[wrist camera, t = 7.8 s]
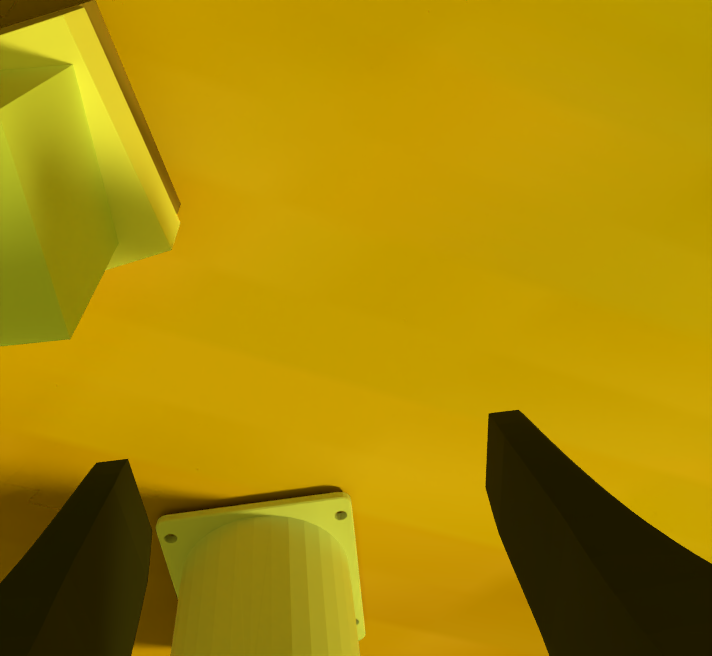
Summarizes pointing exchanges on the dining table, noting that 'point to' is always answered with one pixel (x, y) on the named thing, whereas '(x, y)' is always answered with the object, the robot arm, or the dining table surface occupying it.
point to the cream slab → (103, 131)
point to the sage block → (48, 206)
